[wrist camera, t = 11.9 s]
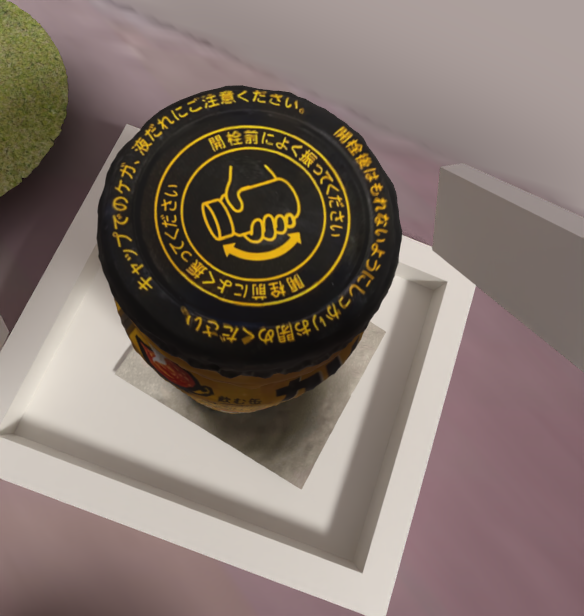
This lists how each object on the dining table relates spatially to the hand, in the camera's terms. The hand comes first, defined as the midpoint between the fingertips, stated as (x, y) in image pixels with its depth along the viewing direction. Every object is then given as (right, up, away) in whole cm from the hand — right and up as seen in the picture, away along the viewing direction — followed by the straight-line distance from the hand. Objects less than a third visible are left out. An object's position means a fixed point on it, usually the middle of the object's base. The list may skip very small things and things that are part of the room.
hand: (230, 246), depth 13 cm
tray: (0, -4, +6) cm, 8 cm away
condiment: (0, -4, +6) cm, 7 cm away
